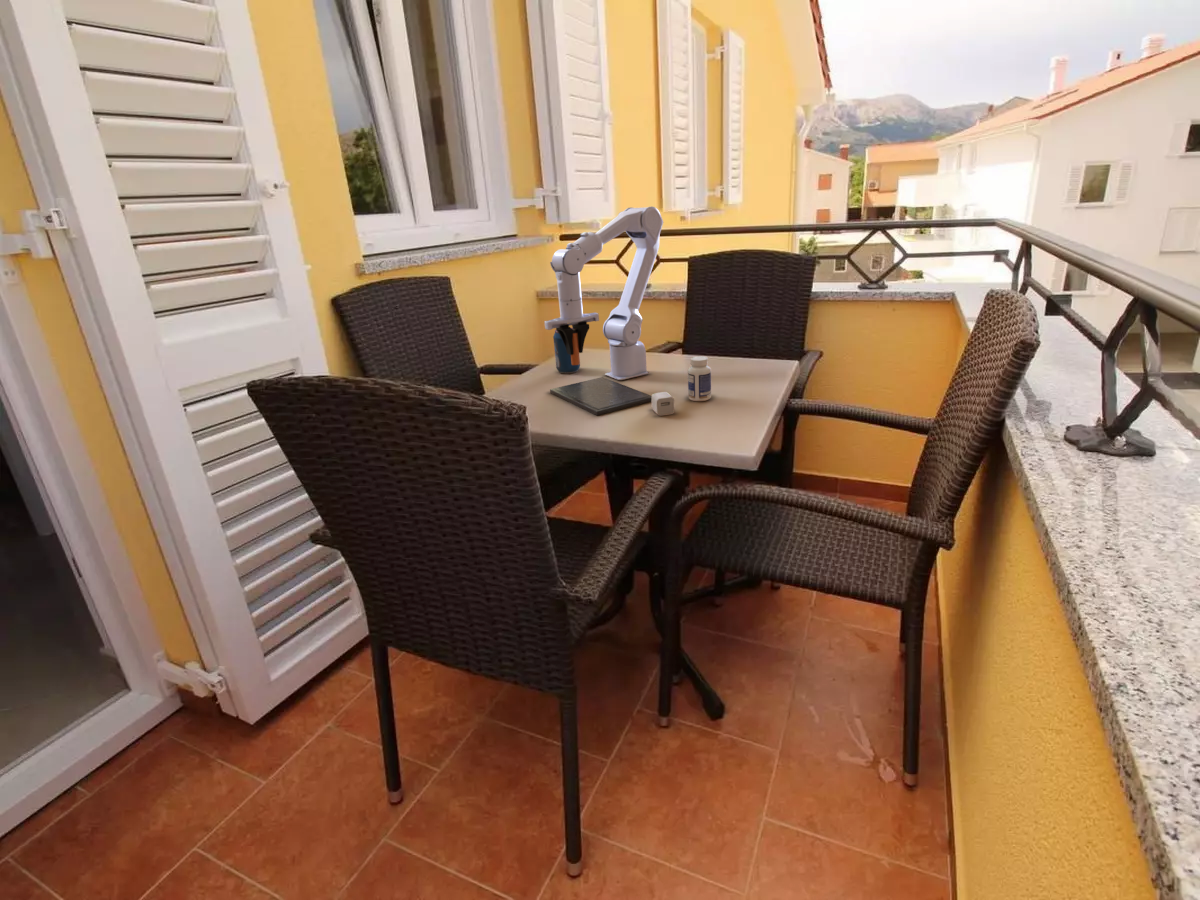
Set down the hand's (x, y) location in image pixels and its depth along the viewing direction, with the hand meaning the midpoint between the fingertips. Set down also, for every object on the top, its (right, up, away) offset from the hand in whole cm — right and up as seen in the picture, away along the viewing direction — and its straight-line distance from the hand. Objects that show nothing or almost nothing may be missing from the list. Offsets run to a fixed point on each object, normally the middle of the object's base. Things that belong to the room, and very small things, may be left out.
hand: (575, 353), depth 161 cm
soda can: (-3, -2, +21) cm, 21 cm away
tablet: (+6, -12, -5) cm, 14 cm away
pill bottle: (+30, -13, -12) cm, 35 cm away
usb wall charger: (+20, -16, -18) cm, 31 cm away
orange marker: (0, -3, +1) cm, 3 cm away
